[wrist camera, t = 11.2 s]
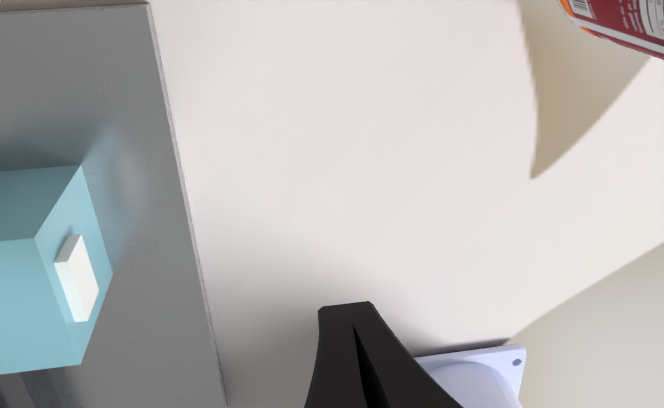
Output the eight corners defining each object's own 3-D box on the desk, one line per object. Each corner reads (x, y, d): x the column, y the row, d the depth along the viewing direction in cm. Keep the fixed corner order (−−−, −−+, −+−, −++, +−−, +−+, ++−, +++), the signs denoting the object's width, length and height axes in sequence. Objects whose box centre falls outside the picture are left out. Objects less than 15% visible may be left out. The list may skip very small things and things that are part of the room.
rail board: (232, 431, 29) (231, 483, 26) (38, 459, 28) (17, 516, 25) (150, 3, 18) (133, 19, 15) (-174, 21, 17) (-251, 42, 14)
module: (123, 273, 22) (93, 362, 18) (11, 285, 21) (-48, 380, 17) (92, 163, 19) (48, 236, 15) (-36, 174, 19) (-119, 253, 15)
